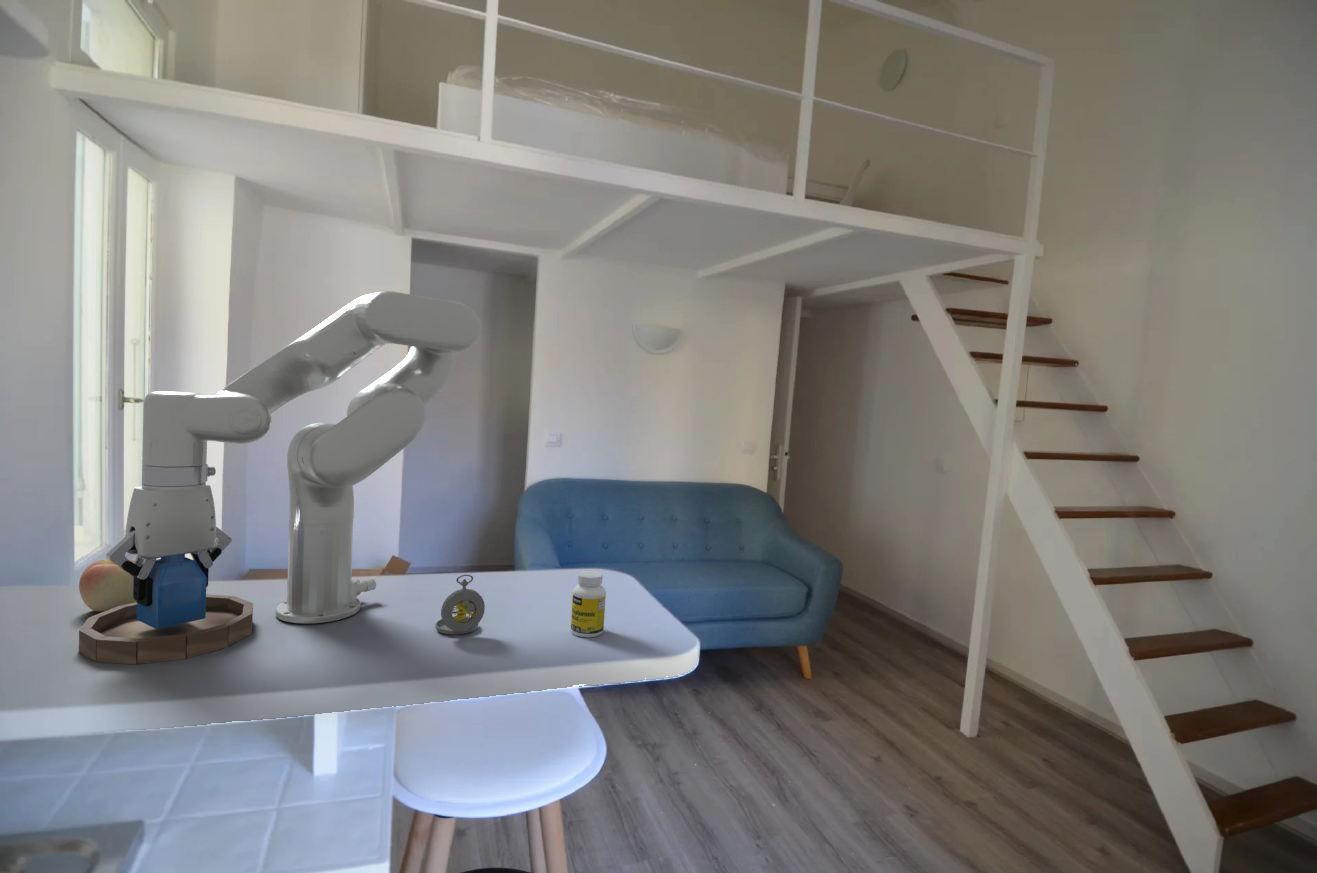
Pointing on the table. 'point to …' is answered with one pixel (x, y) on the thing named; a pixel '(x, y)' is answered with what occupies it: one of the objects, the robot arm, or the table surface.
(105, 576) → the apple
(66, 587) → the table surface
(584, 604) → the supplement bottle
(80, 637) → the walnut tray
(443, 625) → the pocket watch
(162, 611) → the perfume bottle
